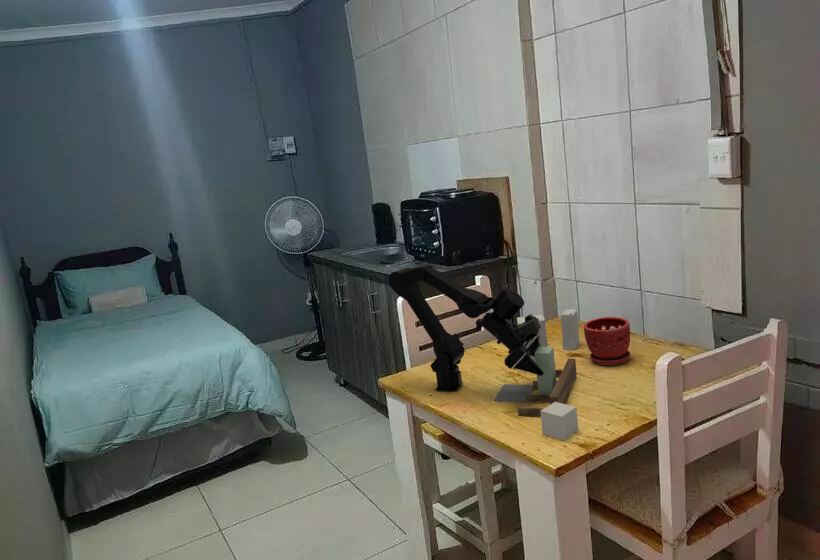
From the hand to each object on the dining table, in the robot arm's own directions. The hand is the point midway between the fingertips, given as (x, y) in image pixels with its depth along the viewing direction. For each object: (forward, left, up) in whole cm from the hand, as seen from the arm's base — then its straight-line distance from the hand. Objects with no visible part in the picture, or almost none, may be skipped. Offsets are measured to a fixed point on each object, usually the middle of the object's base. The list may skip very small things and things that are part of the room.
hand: (546, 368), depth 167 cm
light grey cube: (+7, -21, -8) cm, 23 cm away
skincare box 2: (0, +39, -8) cm, 40 cm away
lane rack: (0, 0, -8) cm, 8 cm away
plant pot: (+13, +27, -8) cm, 31 cm away
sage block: (0, 0, -8) cm, 8 cm away
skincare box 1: (-8, +21, -8) cm, 24 cm away
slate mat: (-10, 0, -8) cm, 12 cm away
